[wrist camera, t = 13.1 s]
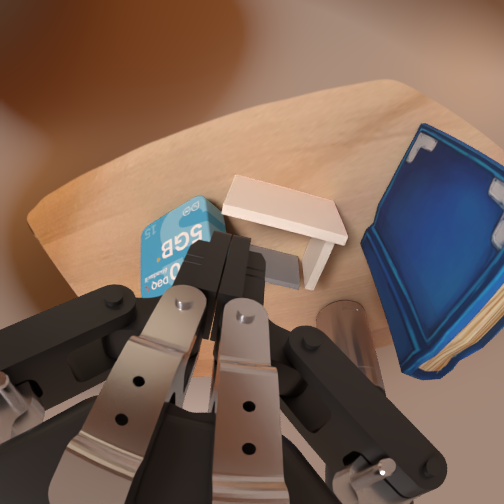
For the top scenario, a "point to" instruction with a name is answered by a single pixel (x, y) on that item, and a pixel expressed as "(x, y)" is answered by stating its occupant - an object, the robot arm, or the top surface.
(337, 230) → the shelf nook
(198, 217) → the data package
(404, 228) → the book
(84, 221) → the top surface
